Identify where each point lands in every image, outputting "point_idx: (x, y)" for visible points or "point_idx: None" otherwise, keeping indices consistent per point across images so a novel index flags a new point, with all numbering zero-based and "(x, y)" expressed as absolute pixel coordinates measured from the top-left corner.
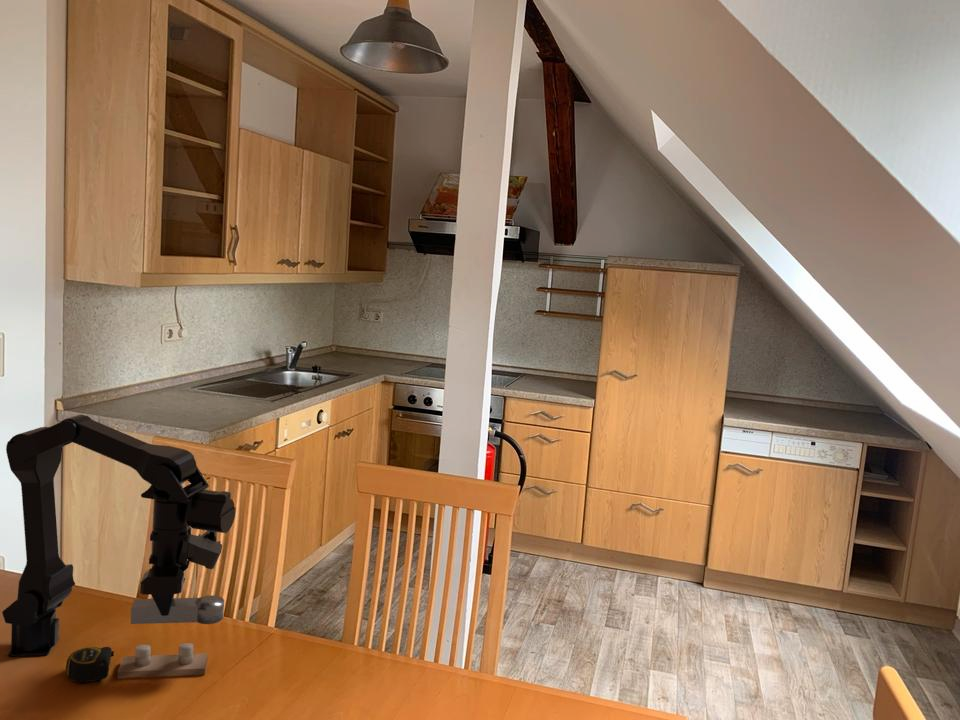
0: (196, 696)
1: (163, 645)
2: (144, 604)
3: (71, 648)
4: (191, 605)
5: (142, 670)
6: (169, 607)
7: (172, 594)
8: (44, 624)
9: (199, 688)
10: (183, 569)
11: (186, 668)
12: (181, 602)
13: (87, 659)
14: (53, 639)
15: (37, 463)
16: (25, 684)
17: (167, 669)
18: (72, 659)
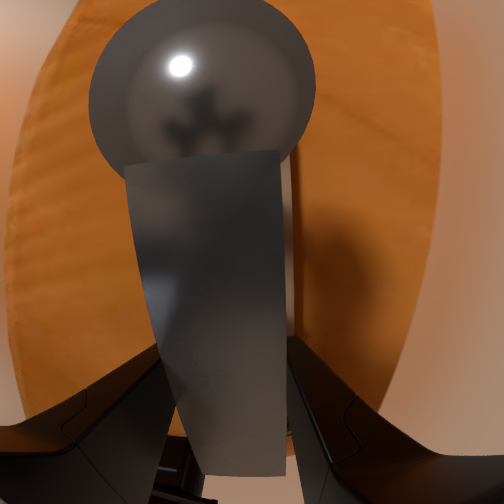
0: (388, 141)
1: (135, 266)
2: (257, 452)
3: (177, 417)
4: (271, 221)
5: (291, 295)
6: (324, 364)
7: (399, 434)
8: (186, 481)
9: (353, 135)
10: (8, 472)
11: (286, 180)
12: (219, 303)
13: (287, 414)
14: (184, 450)
15: None
16: None
17: (290, 233)
18: (290, 433)
